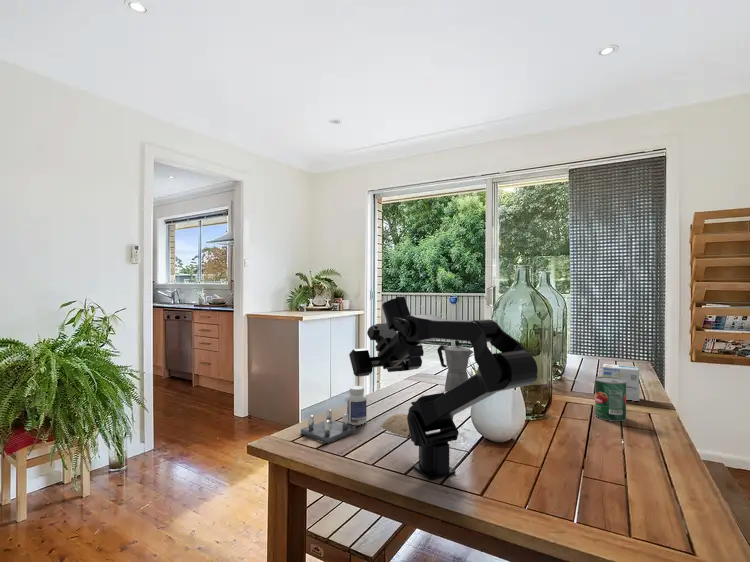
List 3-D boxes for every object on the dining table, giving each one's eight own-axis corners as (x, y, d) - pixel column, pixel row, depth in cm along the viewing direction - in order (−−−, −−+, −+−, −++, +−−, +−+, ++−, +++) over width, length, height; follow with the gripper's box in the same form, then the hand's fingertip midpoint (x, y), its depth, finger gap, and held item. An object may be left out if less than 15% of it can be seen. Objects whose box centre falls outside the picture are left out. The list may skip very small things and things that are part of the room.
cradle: (355, 432, 105) (355, 414, 105) (327, 443, 97) (327, 424, 97) (329, 423, 112) (329, 406, 112) (300, 433, 104) (300, 415, 104)
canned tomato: (588, 414, 119) (588, 377, 119) (609, 412, 121) (608, 375, 122) (611, 423, 111) (611, 383, 112) (633, 420, 114) (632, 381, 114)
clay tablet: (406, 440, 101) (406, 429, 101) (376, 431, 108) (376, 420, 108) (437, 425, 112) (437, 415, 112) (408, 417, 118) (408, 408, 118)
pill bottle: (370, 422, 113) (370, 387, 113) (356, 427, 109) (356, 391, 109) (357, 417, 116) (357, 384, 116) (343, 422, 112) (343, 387, 113)
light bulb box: (639, 398, 137) (639, 366, 137) (639, 402, 131) (639, 369, 131) (603, 393, 142) (603, 362, 143) (602, 397, 137) (602, 366, 137)
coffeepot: (480, 390, 146) (479, 341, 146) (465, 395, 139) (465, 343, 140) (445, 383, 157) (445, 337, 157) (430, 387, 151) (430, 339, 151)
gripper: (421, 315, 103) (394, 341, 114) (356, 318, 94) (333, 346, 105) (436, 355, 98) (406, 379, 109) (368, 362, 88) (343, 387, 100)
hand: (373, 372), depth 106 cm, fingers open, 9 cm apart
